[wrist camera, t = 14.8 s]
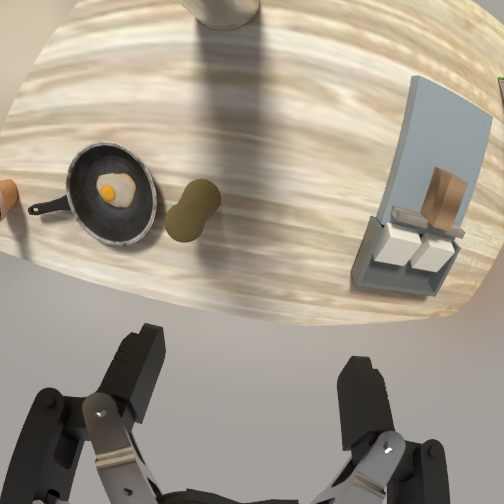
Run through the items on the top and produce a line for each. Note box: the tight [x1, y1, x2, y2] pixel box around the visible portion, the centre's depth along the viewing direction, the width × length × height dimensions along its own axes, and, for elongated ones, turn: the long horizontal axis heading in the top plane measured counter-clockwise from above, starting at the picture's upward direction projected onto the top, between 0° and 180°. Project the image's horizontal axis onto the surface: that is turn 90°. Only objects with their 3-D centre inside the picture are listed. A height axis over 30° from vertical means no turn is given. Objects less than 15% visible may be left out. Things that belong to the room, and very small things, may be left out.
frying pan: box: [28, 141, 157, 246], centre depth 42 cm, size 19×32×4 cm, turn 94°
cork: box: [164, 179, 221, 242], centre depth 38 cm, size 6×6×11 cm
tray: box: [351, 216, 460, 297], centre depth 43 cm, size 11×18×4 cm, turn 82°
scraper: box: [391, 167, 468, 239], centre depth 34 cm, size 9×14×5 cm, turn 82°
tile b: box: [373, 222, 421, 266], centre depth 41 cm, size 6×6×3 cm
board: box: [376, 76, 493, 242], centre depth 34 cm, size 24×16×2 cm, turn 172°
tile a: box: [410, 232, 455, 272], centre depth 41 cm, size 6×6×3 cm
